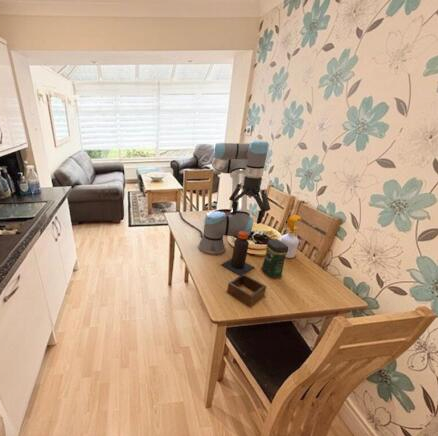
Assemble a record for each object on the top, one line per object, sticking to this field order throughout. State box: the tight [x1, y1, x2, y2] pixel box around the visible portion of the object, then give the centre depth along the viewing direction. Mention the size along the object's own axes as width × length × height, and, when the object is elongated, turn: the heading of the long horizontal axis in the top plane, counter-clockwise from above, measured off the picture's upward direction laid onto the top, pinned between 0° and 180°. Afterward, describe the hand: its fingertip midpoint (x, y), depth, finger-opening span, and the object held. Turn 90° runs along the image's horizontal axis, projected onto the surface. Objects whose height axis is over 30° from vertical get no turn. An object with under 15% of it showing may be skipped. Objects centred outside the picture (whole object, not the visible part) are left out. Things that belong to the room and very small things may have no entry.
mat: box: [221, 258, 255, 276], centre depth 130 cm, size 12×12×1 cm
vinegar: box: [231, 231, 250, 269], centre depth 125 cm, size 7×7×20 cm
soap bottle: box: [279, 214, 302, 259], centre depth 136 cm, size 9×9×25 cm
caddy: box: [226, 273, 267, 308], centre depth 109 cm, size 12×12×6 cm
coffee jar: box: [261, 238, 288, 279], centre depth 121 cm, size 10×8×19 cm
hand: (245, 218), depth 118 cm, fingers open, 13 cm apart
